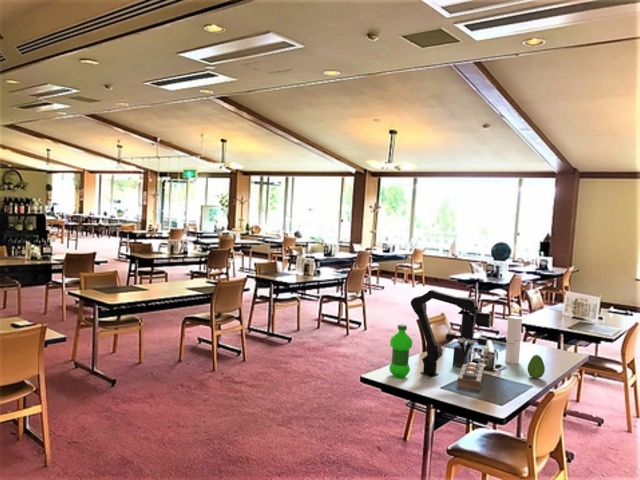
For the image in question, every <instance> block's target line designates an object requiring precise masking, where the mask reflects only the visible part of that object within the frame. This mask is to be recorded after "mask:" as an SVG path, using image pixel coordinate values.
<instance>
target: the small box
mask: <svg viewBox="0 0 640 480" xmlns="http://www.w3.org/2000/svg"><path fill="white" fill-rule="evenodd" d="M466 346H467V344H465V351H466ZM472 351H473V346H472V345H471V346H470V348H469V350H468V352H467V355H466V357H464V355H463V351H462V348H461V346H460V344H458V345H455V346H454V347H453V360H452V367H456V368H460V369H462V366H463V364H467V363H470V362H472V354H473V352H472Z"/></svg>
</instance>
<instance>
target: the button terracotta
mask: <svg viewBox="0 0 640 480" xmlns="http://www.w3.org/2000/svg"><path fill="white" fill-rule="evenodd" d="M467 370H471V371H476V368H475V367H467Z"/></svg>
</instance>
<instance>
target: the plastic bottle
mask: <svg viewBox="0 0 640 480" xmlns="http://www.w3.org/2000/svg"><path fill="white" fill-rule="evenodd" d="M407 328H408V326H407V325H406V324H398V325H397V330H398V332H396V334H394V335H393V336H392V337H391V338H390V343H389V344H390V347H391V348H392V353H391V363H390V365H389V373H390V374H391V375H392V376H393V377H394V378H397V379H404V378H406V377H407V376H408V374H409V373H410V371H411V367H410V364H409V357H410V356H409V355H410V349H411V348H412V347H413V346H412V345H413V339H412V338H411V337H410V335H409V334H407V332H406V330H407Z"/></svg>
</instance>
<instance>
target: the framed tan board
mask: <svg viewBox="0 0 640 480" xmlns="http://www.w3.org/2000/svg"><path fill="white" fill-rule="evenodd" d="M467 367H474V366H469V363H467V364H463V366H462V368H460V372H459V374H458V377H457V381H456V382H457V384H456V385H457V386H456V387H457V388H463V389H470V390H475V389H476V390H475V391H480V390H481V386H482V381H483V377H484V370H485V369H484V367H485V366H482V365H481V366H480V364H479V363H477V367H475V368H476V371H472V372H474V373H475V375H474V376H472V375H466V371H471V370H467Z"/></svg>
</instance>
